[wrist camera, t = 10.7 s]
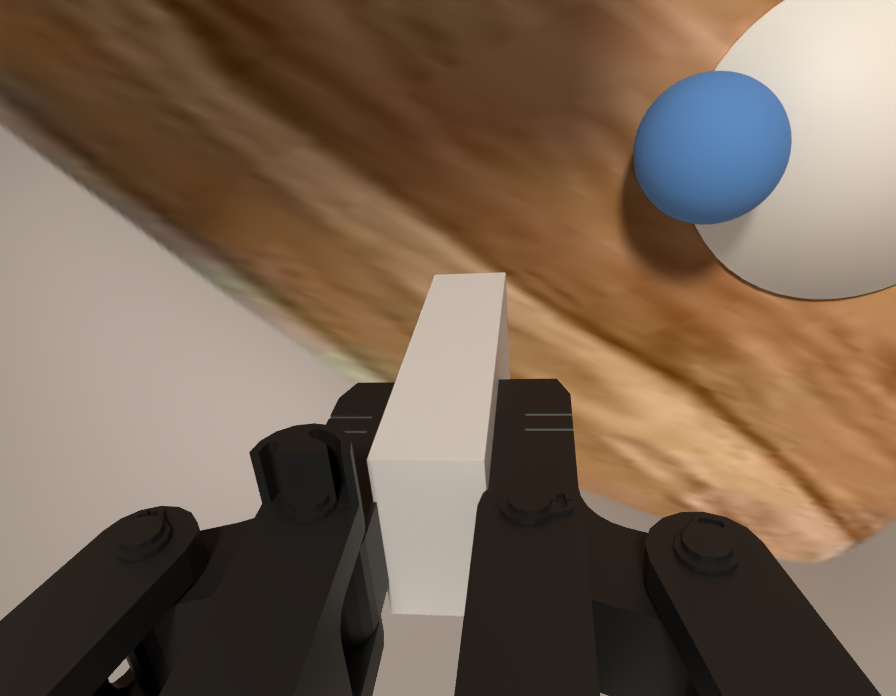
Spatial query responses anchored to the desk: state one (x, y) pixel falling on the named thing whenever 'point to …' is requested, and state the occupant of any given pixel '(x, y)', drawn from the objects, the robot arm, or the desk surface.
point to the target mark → (822, 152)
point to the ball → (712, 147)
